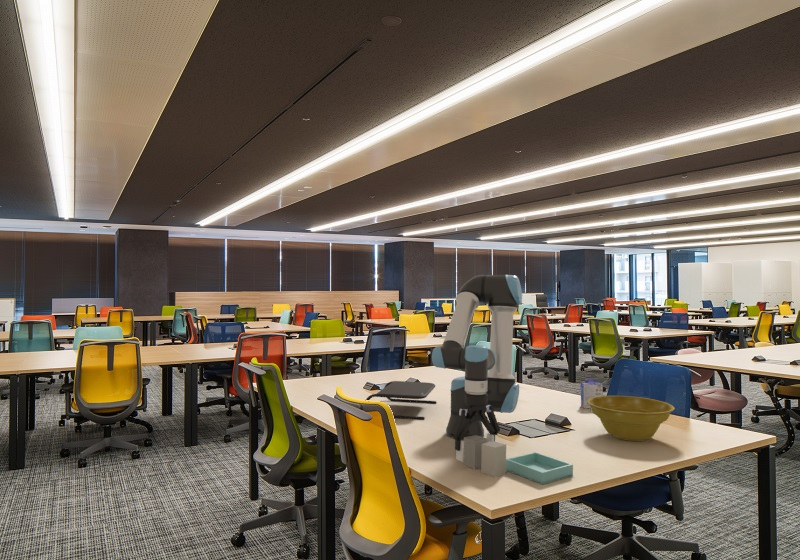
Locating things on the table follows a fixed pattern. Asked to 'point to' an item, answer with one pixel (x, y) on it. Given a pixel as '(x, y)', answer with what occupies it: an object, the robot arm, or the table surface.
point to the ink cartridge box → (590, 391)
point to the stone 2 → (493, 458)
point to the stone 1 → (473, 451)
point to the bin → (539, 467)
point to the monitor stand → (406, 393)
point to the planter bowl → (630, 415)
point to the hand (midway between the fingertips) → (475, 457)
